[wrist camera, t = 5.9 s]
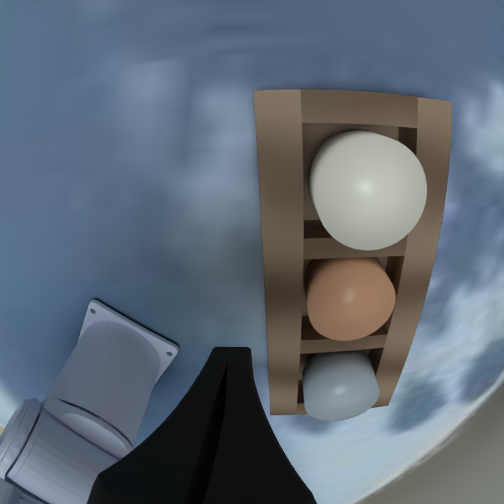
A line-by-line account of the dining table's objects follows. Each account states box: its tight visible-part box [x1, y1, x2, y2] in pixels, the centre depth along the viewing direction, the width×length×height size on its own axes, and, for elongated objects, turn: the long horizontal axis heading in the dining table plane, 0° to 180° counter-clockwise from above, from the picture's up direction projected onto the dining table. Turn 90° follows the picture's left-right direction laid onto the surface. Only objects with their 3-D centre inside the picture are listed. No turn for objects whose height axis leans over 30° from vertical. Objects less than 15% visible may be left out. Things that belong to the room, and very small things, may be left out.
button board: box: [253, 89, 452, 415], centre depth 19 cm, size 23×10×3 cm, turn 4°
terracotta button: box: [304, 257, 396, 341], centre depth 19 cm, size 5×5×3 cm
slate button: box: [302, 350, 379, 421], centre depth 20 cm, size 5×5×3 cm
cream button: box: [308, 129, 427, 250], centre depth 14 cm, size 5×5×3 cm
